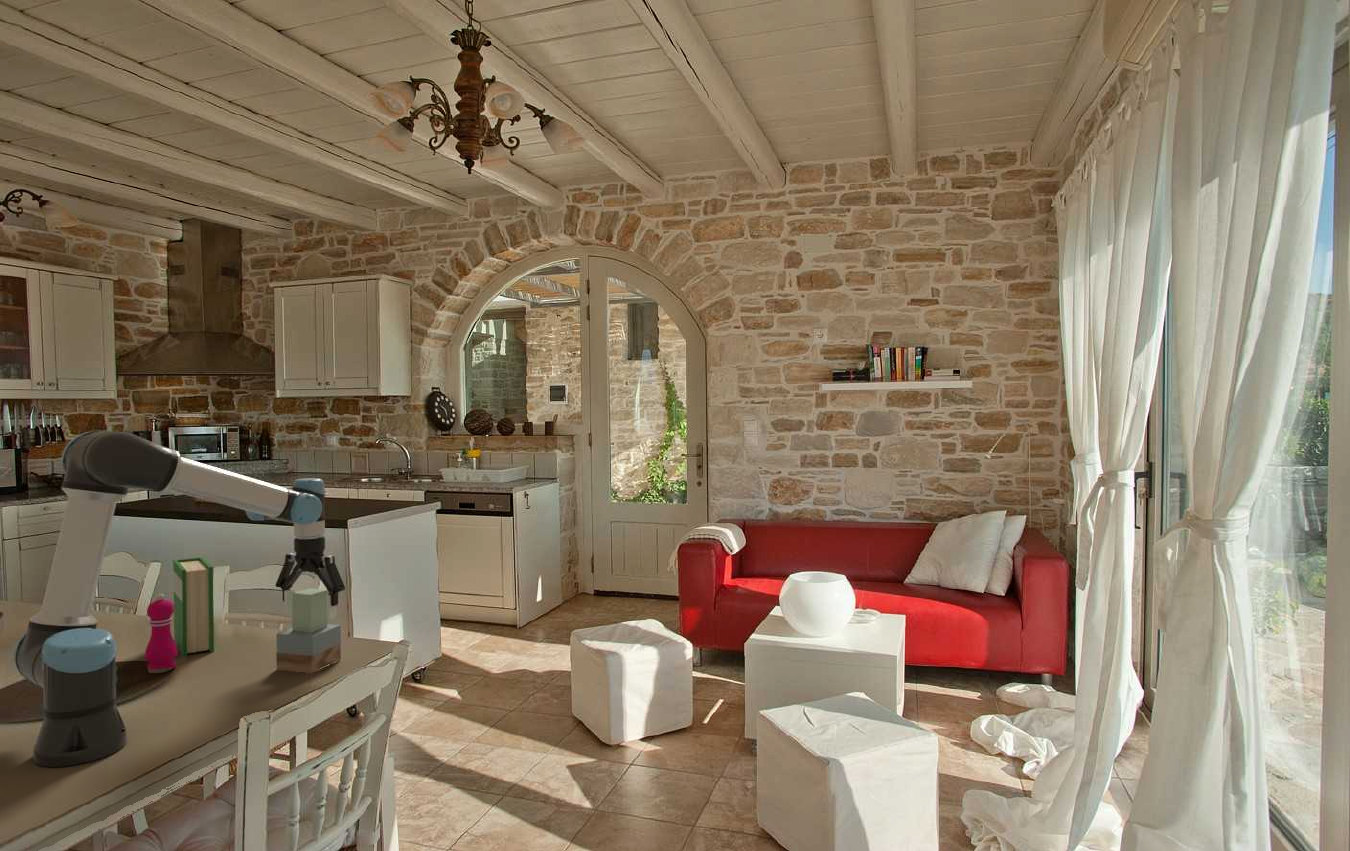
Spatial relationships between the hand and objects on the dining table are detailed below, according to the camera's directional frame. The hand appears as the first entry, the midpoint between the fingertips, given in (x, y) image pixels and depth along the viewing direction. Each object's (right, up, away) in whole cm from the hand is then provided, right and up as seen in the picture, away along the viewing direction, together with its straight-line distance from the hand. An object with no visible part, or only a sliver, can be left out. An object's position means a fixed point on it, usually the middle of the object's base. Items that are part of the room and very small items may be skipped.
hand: (310, 615), depth 213 cm
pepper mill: (-37, -13, -4) cm, 39 cm away
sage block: (0, -3, 0) cm, 3 cm away
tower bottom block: (0, -14, 0) cm, 14 cm away
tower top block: (0, -9, 0) cm, 9 cm away
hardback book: (-40, -13, +15) cm, 45 cm away
